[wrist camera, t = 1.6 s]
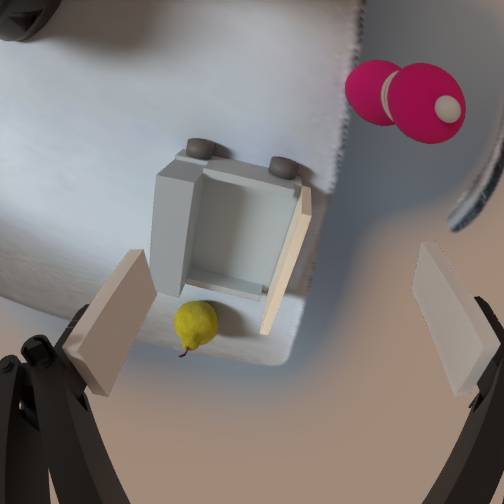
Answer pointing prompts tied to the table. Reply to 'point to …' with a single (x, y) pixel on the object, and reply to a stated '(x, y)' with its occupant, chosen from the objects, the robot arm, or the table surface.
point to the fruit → (195, 324)
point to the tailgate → (287, 258)
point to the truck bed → (220, 222)
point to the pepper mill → (408, 99)
